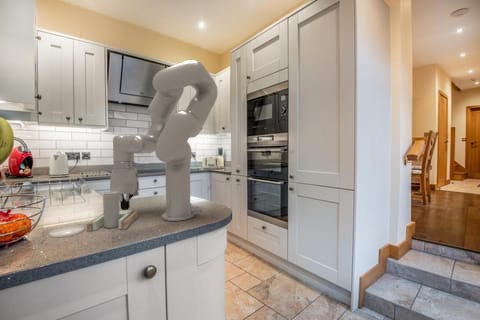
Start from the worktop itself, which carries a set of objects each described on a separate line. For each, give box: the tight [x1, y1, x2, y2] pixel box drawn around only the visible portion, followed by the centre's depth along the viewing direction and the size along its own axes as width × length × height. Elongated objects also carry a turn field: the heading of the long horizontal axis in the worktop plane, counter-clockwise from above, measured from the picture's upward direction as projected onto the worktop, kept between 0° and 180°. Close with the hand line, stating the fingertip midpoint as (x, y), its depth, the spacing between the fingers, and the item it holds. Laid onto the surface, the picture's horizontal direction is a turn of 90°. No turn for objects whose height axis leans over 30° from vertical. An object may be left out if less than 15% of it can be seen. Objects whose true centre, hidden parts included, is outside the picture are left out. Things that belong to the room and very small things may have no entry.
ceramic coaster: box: [49, 224, 85, 239], centre depth 74 cm, size 9×9×1 cm
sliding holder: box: [92, 209, 135, 232], centre depth 83 cm, size 9×14×3 cm, turn 10°
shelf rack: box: [86, 210, 139, 233], centre depth 83 cm, size 12×15×2 cm
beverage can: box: [102, 191, 120, 229], centre depth 80 cm, size 5×5×12 cm
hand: (125, 210), depth 94 cm, fingers closed
